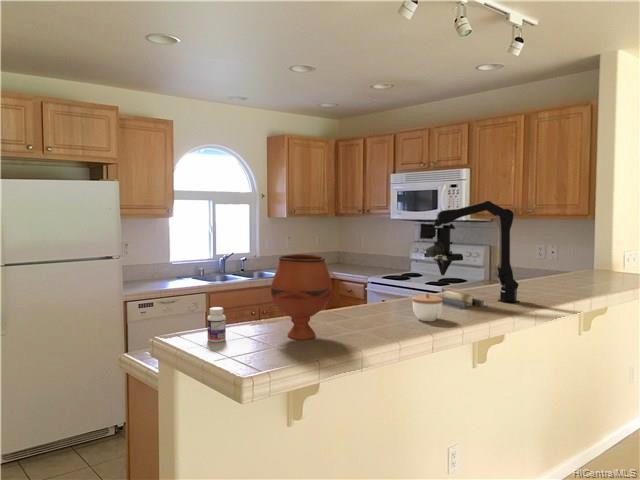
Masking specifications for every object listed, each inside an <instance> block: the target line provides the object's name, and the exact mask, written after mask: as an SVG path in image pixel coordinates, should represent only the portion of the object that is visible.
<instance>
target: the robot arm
mask: <svg viewBox="0 0 640 480" xmlns="http://www.w3.org/2000/svg"><path fill="white" fill-rule="evenodd" d="M485 211H487V212H488V213H489V214H492V215H493V216H494V217H495V219H496V224H497V226H498V230H499V233H498V234H499V237H498V238H499V243H498V245H499V252H498V253H499V255H498V256H499V257H498V259H499V262H498V264H497V266H496V265H495V266H494V270H495V271H494V277H495V278H496V280H497V281H498V282H499V284H500V285H501V287H500V292H499V293H500V295H499V297H500V298H499V299H497V301H498V302H504V303H507V304H513V303H519V302H520V300H518V298H517V296H518V295H517V293H518V292H517V291H518V288H519V285H520V284H519V283H518V282H517V281H516V280H515V279H514V274H513V269H512V266H511V262H510V261H511V259H510V258H511V229H512V226H513V221H514V216H515V215H514V212H513V211H512V210H511V209H510V208H502V207H501V206H499V205H497V204H495V203H493V202H492V201H490V200H484V201H483V202H480V203H479V202H477V203H475V204H472V205H467V206H464V207H460V208H456V209H455V208H453V209H446V210H444V209H443V210H439V211H438V213H437V214H436V219H435V220H434V221H433V222H432V223H420V224H419V225H420V226H419V233H418V237H419V240H433V239H434V238H435V237H436V241H434V242H433V245H432V246H430V247H427V248H425V249H424V255H423V256H424V257H425V258H433V259H432V260H433V261H435V263H436V264H437V266H438V269H439V272H440V275H441V276H445V274H446V272H447V270H448V268H449V267H450V265H451V264H452V262H454V261H455V262H458V261H464V255H463V254H462V253H457V252H453V251H451V245H453V241H451V235H452V233H451V230H455V229H456V227H455V226H454V224H453V223H451V222H453V221H456V220H458V219H460V218H463V217H467V216H469V215H473V214H478V213H482V212H485ZM449 223H450V224H449ZM441 225H442V226H441ZM440 226H441V227H440Z"/></svg>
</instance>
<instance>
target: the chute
mask: <svg viewBox="0 0 640 480" xmlns="http://www.w3.org/2000/svg"><path fill="white" fill-rule="evenodd" d="M436 296H437V297H440V298H442V299H443V302H442V306H446V307H450V308H453V309H457V310H465V309H468V306H467V302H465V301H460V300H456V299H452V298H448V297H445V295H444V296H443V295H436ZM471 306H477V307H482V308H483V307H488V306H489V304H486V303H485V300H484V299H480V298H475V297H472V305H471Z"/></svg>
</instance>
